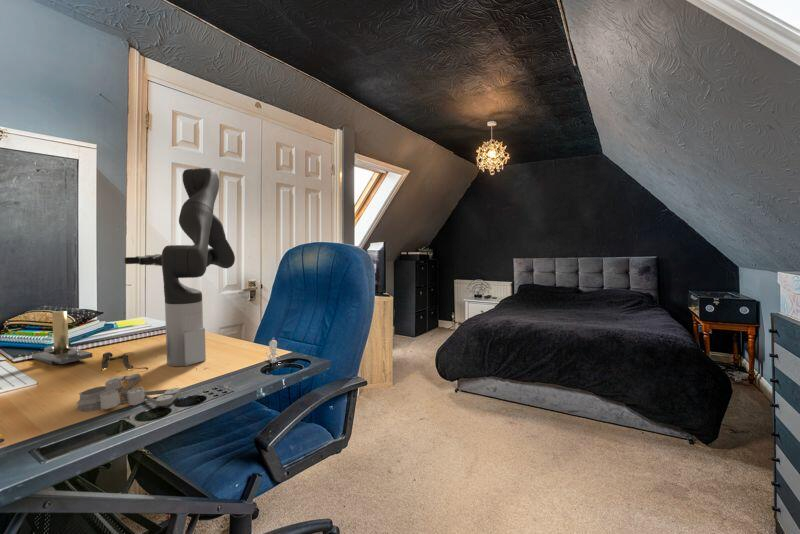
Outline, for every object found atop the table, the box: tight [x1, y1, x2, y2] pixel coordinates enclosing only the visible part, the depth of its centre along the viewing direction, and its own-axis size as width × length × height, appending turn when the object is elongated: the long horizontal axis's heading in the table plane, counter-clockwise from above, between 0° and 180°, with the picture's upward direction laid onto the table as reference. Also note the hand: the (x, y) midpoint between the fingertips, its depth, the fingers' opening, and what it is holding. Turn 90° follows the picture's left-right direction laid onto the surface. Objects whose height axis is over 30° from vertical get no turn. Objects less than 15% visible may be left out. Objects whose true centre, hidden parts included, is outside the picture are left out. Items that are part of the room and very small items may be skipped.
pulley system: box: [76, 373, 182, 412], centre depth 82 cm, size 27×5×15 cm
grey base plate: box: [31, 345, 93, 366], centre depth 108 cm, size 19×7×4 cm, turn 62°
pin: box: [51, 310, 70, 355], centre depth 108 cm, size 3×3×14 cm
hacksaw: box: [101, 351, 149, 374], centre depth 106 cm, size 24×10×2 cm, turn 37°
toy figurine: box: [265, 337, 281, 366], centre depth 107 cm, size 5×8×7 cm, turn 42°
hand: (132, 261), depth 121 cm, fingers open, 8 cm apart
